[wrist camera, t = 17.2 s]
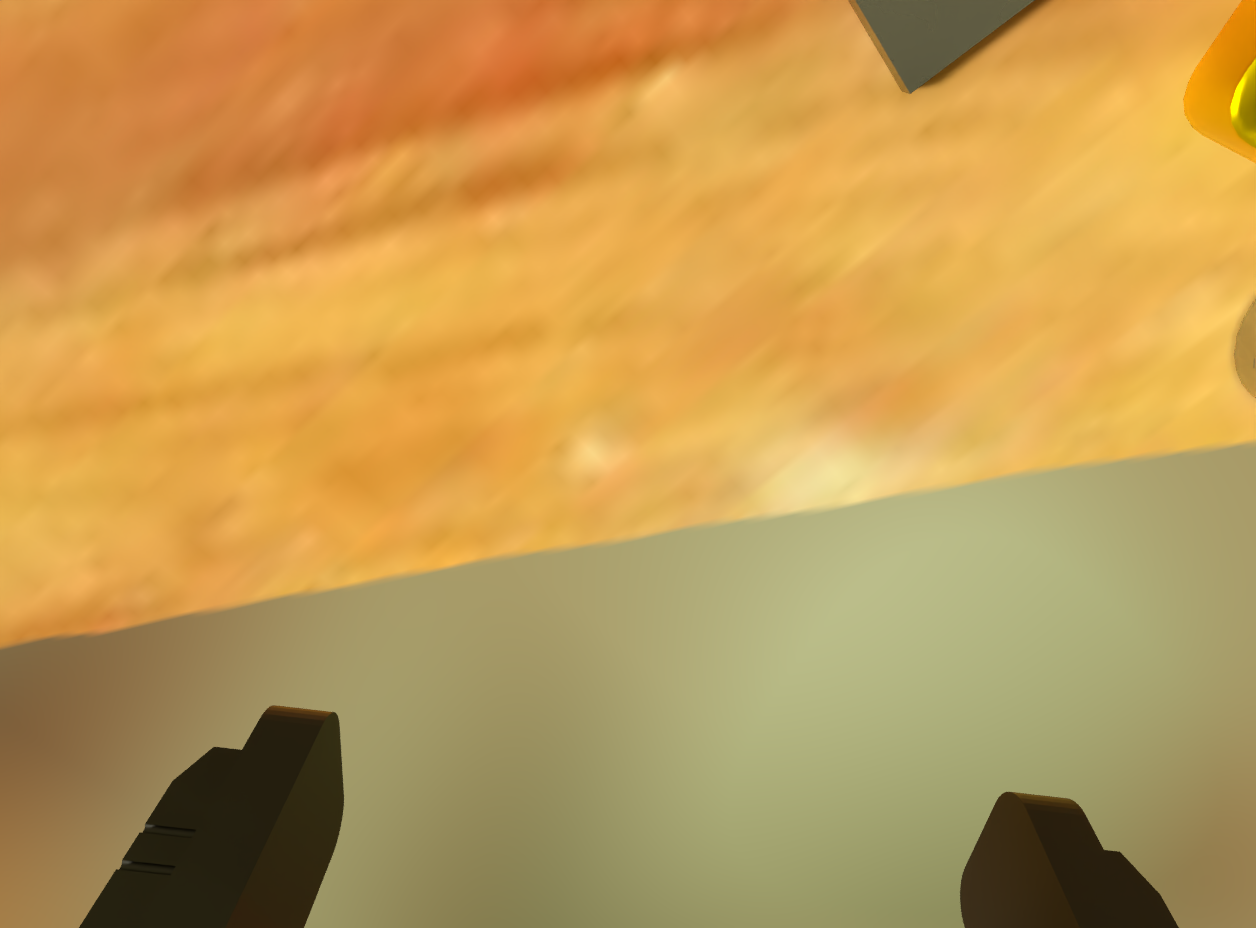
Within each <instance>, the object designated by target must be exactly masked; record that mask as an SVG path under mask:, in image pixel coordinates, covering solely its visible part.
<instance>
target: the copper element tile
mask: <svg viewBox="0 0 1256 928" xmlns="http://www.w3.org/2000/svg"><path fill="white" fill-rule="evenodd" d="M1183 100H1184V112H1185V116H1186V118H1187V119H1188V121H1189V122H1190V124H1191V126H1192V127H1193V128H1194V129H1195V130H1196V131H1198V132H1199V133H1200V134H1201V135H1203V136H1205V137H1207V138H1209V139H1211V140H1212V141H1214V142H1216V143H1218V144H1220V145H1222V146H1224V147H1226V148H1228V149H1230V150H1232V151H1233V152H1235V153H1237V154H1239V155H1241V156H1243V157H1245V158H1247V159H1249V160H1251V161H1253V162H1254V163H1256V0H1242V1H1241V3H1240V4H1239V6H1238V7H1237V8H1236V10H1235V11H1234V13H1233V14H1232V16H1231V17H1230V19H1229V20H1228V22H1227V23H1226V24H1225V26H1224V27H1223V29H1222V30H1221V32H1220V33H1219V35H1218V36H1217V38H1216V39H1215V40H1214V42H1213V43H1212V45H1211V46H1210V48H1209V49H1208V51H1207V52H1206V54H1205V55H1204V57H1203V58H1202V59H1201V61H1200V62H1199V64H1198V65H1197V67H1196V68H1195V70H1194V72H1193V74H1192V76H1191V78H1190V80H1189V82H1188V85H1187V89H1186V92H1185V96H1184V99H1183Z"/></svg>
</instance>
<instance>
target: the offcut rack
mask: <svg viewBox="0 0 1256 928" xmlns="http://www.w3.org/2000/svg"><path fill="white" fill-rule="evenodd" d="M1033 1H1034V0H849V2H850V4H851V6H852V7H853V9H854V11H855V12H856V14H857V16H858V17H859V19H860V21H861V23H862V24H863V26H864V28H865V29H866V31H867V33H868V34H869V36H870V38H871V40H872V41H873V43H874V45H875V46H876V48H877V50H878V51H879V53H880V55H881V56H882V58H883V60H884V62H885V63H886V65H887V67H888V68H889V70H890V72H891V73H892V75H893V77H894V79H895V80H896V82H897V84H898V85H899V87H900V89H901V90H902V91H903V92H906V93H909V94H911V93H912V92H913V91H915V90H916V89H917V88H919V87H920V86H921V85H923V84H924V83H925V82H927V81H928V80H929V79H931V78H932V77H933V76H935V75H936V74H937V73H939V72H940V71H941V70H943V69H944V68H945V67H947V66H948V65H949V64H951V63H952V62H953V61H955V60H956V59H957V58H959V57H960V56H961V55H963V54H964V53H965V52H967V51H968V50H969V49H971V48H972V47H973V46H974V45H976V44H977V43H978V42H980V41H981V40H982V39H984V38H985V37H986V36H988V35H989V34H990V33H992V32H993V31H994V30H996V29H997V28H998V27H1000V26H1001V25H1002V24H1004V23H1005V22H1006V21H1008V20H1009V19H1010V18H1012V17H1013V16H1014V15H1016V14H1017V13H1018V12H1020V11H1021V10H1022V9H1024V8H1025V7H1026V6H1028V5H1029V4H1030V3H1032V2H1033Z"/></svg>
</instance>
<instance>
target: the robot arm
mask: <svg viewBox="0 0 1256 928" xmlns="http://www.w3.org/2000/svg"><path fill="white" fill-rule="evenodd" d="M1234 356H1235V365H1236V371H1237V373H1238V376H1239V378H1240V380H1241V383H1242V384H1243V386H1244V387H1245V388H1246V389H1247V390H1248V392H1249V393H1250V394H1251V395H1252V396H1253V397H1255V398H1256V299H1255V300H1254V302H1253V303H1252V305H1251V307H1250V308H1249V310H1248V312H1247V313H1246V315H1245V317H1244V318H1243V321H1242V324H1241V326H1240V329H1239V332H1238V334H1237V338H1236V345H1235V352H1234ZM343 806H344V791H343V775H342V759H341V743H340V727H339V719H338V716H337V714H336V713H335V712H326V711H318V710H310V709H301V708H292V707H284V706H271V707H269V708H268V709H267V710H266V711H265V712H264V713H263V715H262V716H261V718H260V719H259V721H258V723H257V725H256V727H255V728H254V730H253V732H252V733H251V735H250V737H249V739H248V740H247V742H246V744H245V746H244V747H243V749H242V750H238V749H228V748H220V747H213V748H212V749H211V750H209V751H208V752H207V753H206V754H205V755H203V756H202V757H201V758H200V759H199V760H197V761H196V762H195V763H194V764H193V765H191V766H190V767H189V768H188V769H187V770H185V771H184V772H183V773H182V774H181V775H179V776H178V777H177V778H176V779H174V780H173V781H172V783H171V784H170V786H169V787H168V789H167V791H166V792H165V794H164V795H163V797H162V799H161V800H160V802H159V803H158V805H157V806H156V808H155V810H154V811H153V813H152V814H151V816H150V817H149V819H148V821H147V822H146V824H145V829H144V831H143V833H139V835H138V836H137V838H136V839H135V841H134V843H133V844H132V845H131V847H130V849H129V850H128V852H127V853H126V855H125V857H124V858H123V860H122V865H121V868H120V869H119V870H116V871H115V872H114V874H113V875H112V877H111V879H110V880H109V882H108V883H107V885H106V886H105V888H104V890H103V891H102V893H101V894H100V896H99V897H98V899H97V900H96V902H95V903H94V905H93V907H92V908H91V910H90V911H89V913H88V915H87V916H86V918H85V919H84V921H83V922H82V924H81V925H80V927H79V928H304V926H305V924H306V921H307V918H308V916H309V914H310V911H311V908H312V906H313V903H314V901H315V898H316V896H317V893H318V891H319V888H320V885H321V883H322V881H323V878H324V875H325V873H326V870H327V868H328V865H329V863H330V860H331V858H332V855H333V852H334V849H335V846H336V843H337V839H338V835H339V831H340V827H341V821H342V815H343ZM960 902H961V912H962V918H963V923H964V926H965V928H1179V927H1178V926H1177V924H1176V922H1175V920H1174V918H1173V917H1172V915H1171V913H1170V911H1169V910H1168V908H1167V906H1166V904H1165V903H1164V901H1163V899H1162V897H1161V895H1160V894H1159V893H1158V892H1157V891H1156V890H1155V889H1154V888H1153V887H1152V885H1150V884H1149V882H1148V881H1147V880H1146V879H1145V878H1144V877H1143V876H1142V875H1141V874H1140V873H1139V872H1138V871H1137V870H1136V868H1135V867H1134V866H1133V865H1132V864H1131V863H1130V862H1129V861H1128V860H1127V859H1126V858H1125V857H1124V856H1123V855H1122V854H1121V853H1120V852H1117V851H1108V850H1104V849H1103V847H1102V846H1101V844H1100V842H1099V840H1098V838H1097V836H1096V834H1095V832H1094V830H1093V829H1092V827H1091V825H1090V823H1089V821H1088V819H1087V817H1086V815H1085V813H1084V812H1083V810H1082V809H1081V807H1080V806H1079V805H1078V804H1077V803H1076V802H1074V801H1073V800H1071V799H1067V798H1058V797H1050V796H1041V795H1031V794H1024V793H1015V792H1005V793H1003V794H1002V795H1001V796H1000V797H999V798H998V800H997V801H996V803H995V805H994V807H993V810H992V812H991V814H990V816H989V818H988V820H987V822H986V824H985V826H984V829H983V831H982V833H981V835H980V837H979V839H978V841H977V843H976V845H975V848H974V850H973V852H972V854H971V856H970V858H969V860H968V862H967V864H966V867H965V869H964V872H963V875H962V880H961V890H960Z"/></svg>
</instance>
